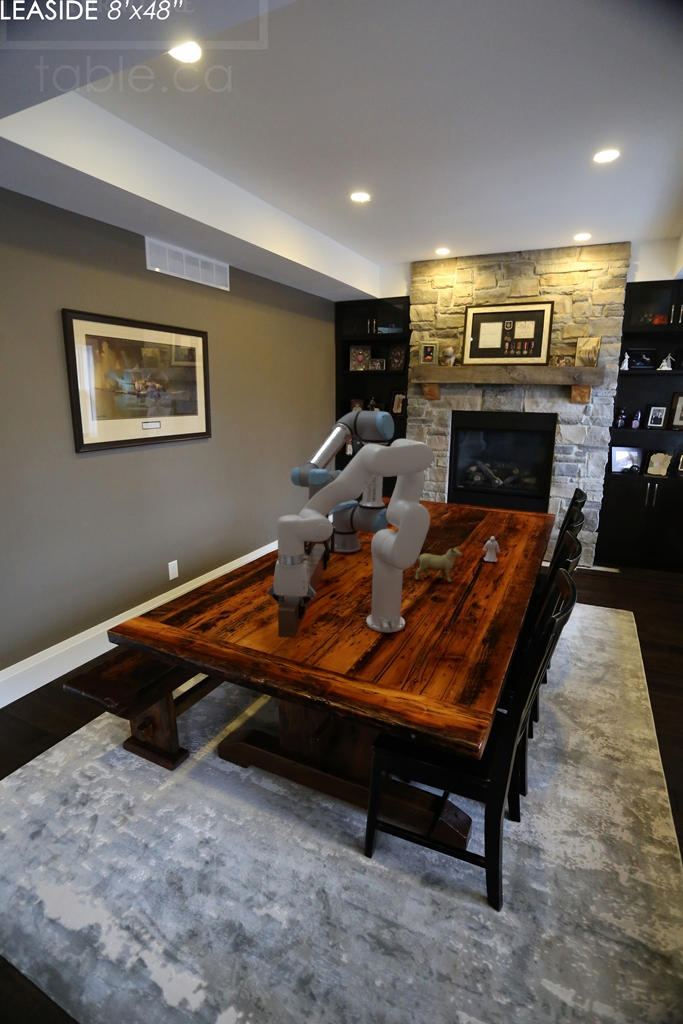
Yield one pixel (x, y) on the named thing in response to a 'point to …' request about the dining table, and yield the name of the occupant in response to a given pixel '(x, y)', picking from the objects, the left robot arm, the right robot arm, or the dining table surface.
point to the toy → (438, 563)
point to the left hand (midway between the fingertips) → (318, 568)
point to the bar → (290, 604)
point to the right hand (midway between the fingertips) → (292, 615)
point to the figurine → (491, 550)
